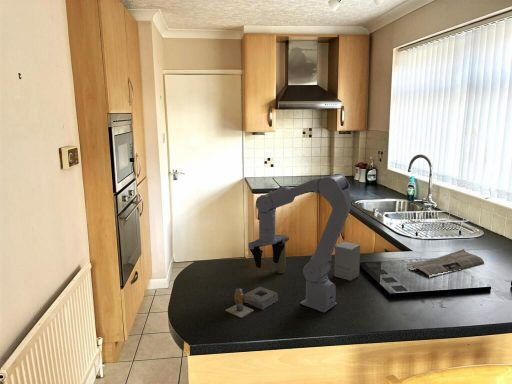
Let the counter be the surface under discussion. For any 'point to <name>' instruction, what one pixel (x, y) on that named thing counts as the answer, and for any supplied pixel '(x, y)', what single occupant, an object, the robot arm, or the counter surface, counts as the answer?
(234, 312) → the mat
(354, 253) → the supplement box
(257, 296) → the block
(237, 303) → the amber medicine bottle
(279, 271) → the handle
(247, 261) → the counter surface
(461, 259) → the newspaper
